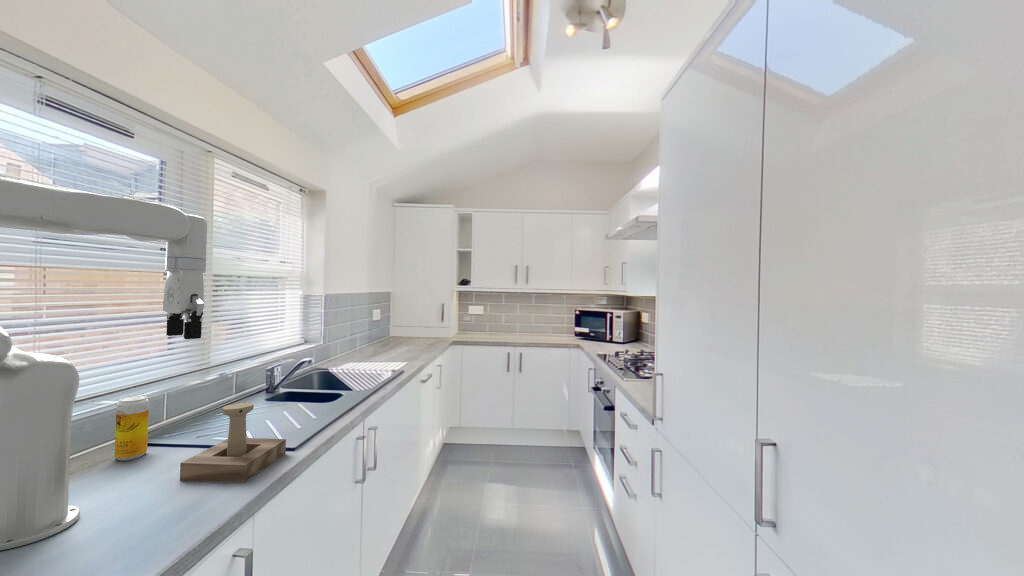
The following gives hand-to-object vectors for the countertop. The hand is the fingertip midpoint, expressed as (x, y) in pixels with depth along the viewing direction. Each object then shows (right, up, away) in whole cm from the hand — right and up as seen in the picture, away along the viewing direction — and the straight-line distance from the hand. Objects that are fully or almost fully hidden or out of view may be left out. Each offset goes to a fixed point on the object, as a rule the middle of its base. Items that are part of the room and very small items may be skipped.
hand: (183, 337), depth 95 cm
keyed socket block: (+11, -33, +3) cm, 34 cm away
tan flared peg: (+10, -33, +3) cm, 35 cm away
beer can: (-20, -32, +7) cm, 38 cm away
